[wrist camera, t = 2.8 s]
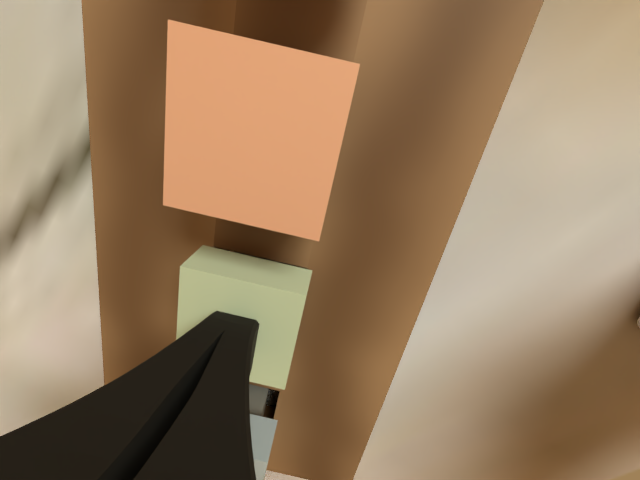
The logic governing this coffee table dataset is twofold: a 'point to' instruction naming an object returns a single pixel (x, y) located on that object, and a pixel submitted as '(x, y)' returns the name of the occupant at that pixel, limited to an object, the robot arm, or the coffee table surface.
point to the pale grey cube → (260, 429)
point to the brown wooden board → (344, 202)
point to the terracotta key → (252, 129)
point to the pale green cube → (247, 303)
